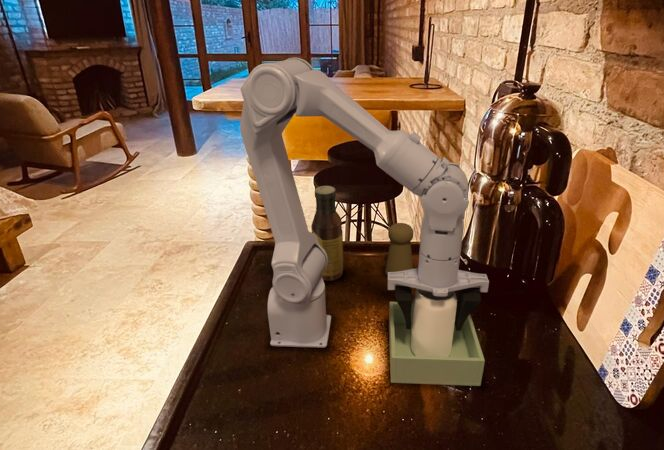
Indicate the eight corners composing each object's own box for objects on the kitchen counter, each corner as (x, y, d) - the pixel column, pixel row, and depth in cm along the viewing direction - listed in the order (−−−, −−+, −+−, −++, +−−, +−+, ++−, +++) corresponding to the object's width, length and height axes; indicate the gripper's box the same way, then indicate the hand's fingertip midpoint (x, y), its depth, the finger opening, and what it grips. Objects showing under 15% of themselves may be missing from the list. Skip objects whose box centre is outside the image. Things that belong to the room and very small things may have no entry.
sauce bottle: (318, 265, 90) (313, 181, 81) (345, 267, 89) (343, 182, 81) (311, 282, 84) (305, 194, 76) (341, 284, 84) (338, 195, 75)
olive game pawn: (414, 279, 85) (417, 232, 80) (386, 279, 85) (387, 232, 80) (411, 263, 91) (414, 219, 86) (384, 263, 91) (385, 219, 86)
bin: (390, 382, 61) (391, 357, 58) (388, 324, 72) (389, 301, 70) (480, 386, 60) (485, 360, 58) (463, 326, 72) (467, 303, 69)
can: (450, 367, 62) (458, 304, 57) (408, 360, 64) (412, 298, 59) (451, 339, 68) (458, 279, 63) (412, 333, 69) (416, 274, 64)
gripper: (389, 264, 55) (386, 342, 61) (499, 266, 54) (485, 345, 60) (388, 239, 61) (386, 312, 67) (486, 241, 60) (475, 314, 66)
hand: (432, 325), depth 64 cm, fingers open, 7 cm apart
